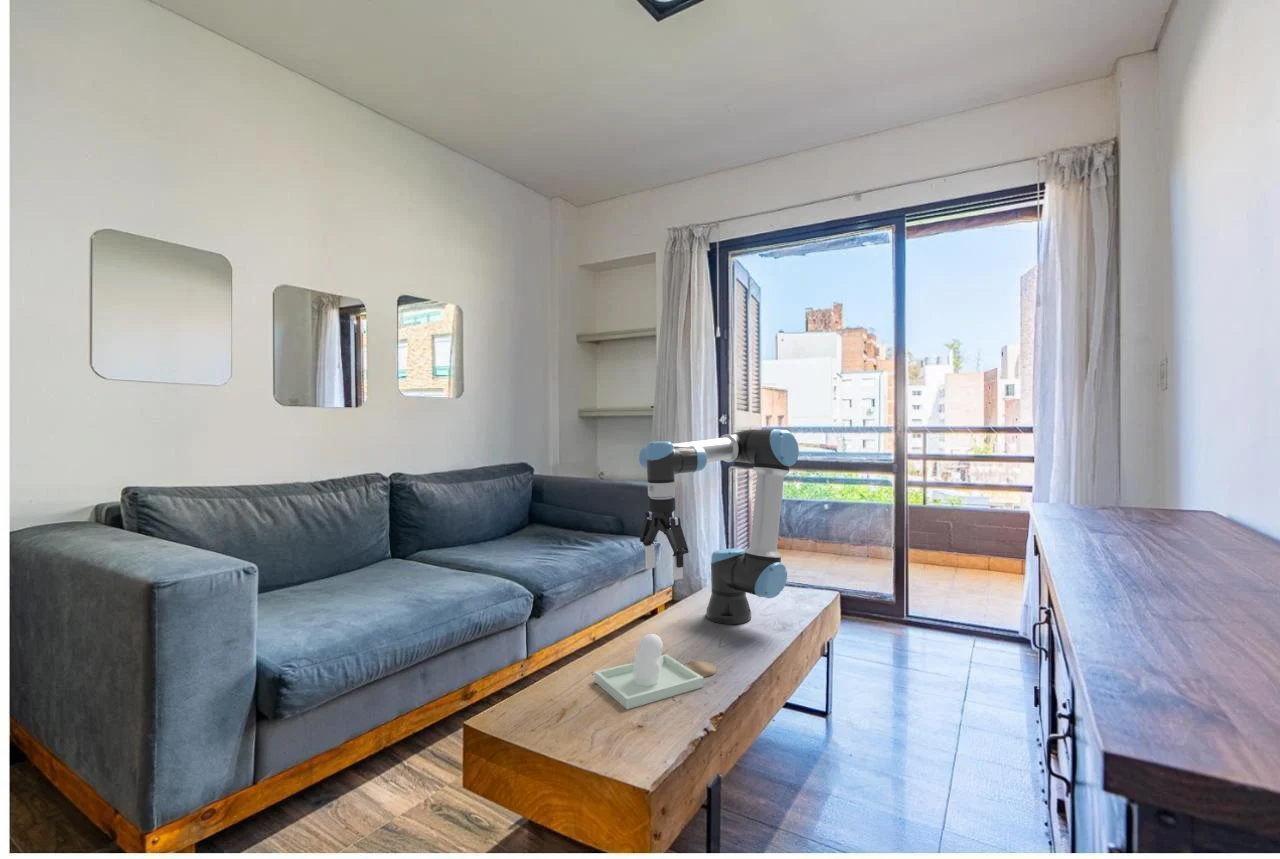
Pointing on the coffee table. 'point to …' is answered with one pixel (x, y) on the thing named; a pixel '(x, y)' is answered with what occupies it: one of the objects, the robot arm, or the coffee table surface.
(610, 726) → the coffee table surface
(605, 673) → the tray
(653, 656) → the figurine
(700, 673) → the metal coaster
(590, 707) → the coffee table surface
